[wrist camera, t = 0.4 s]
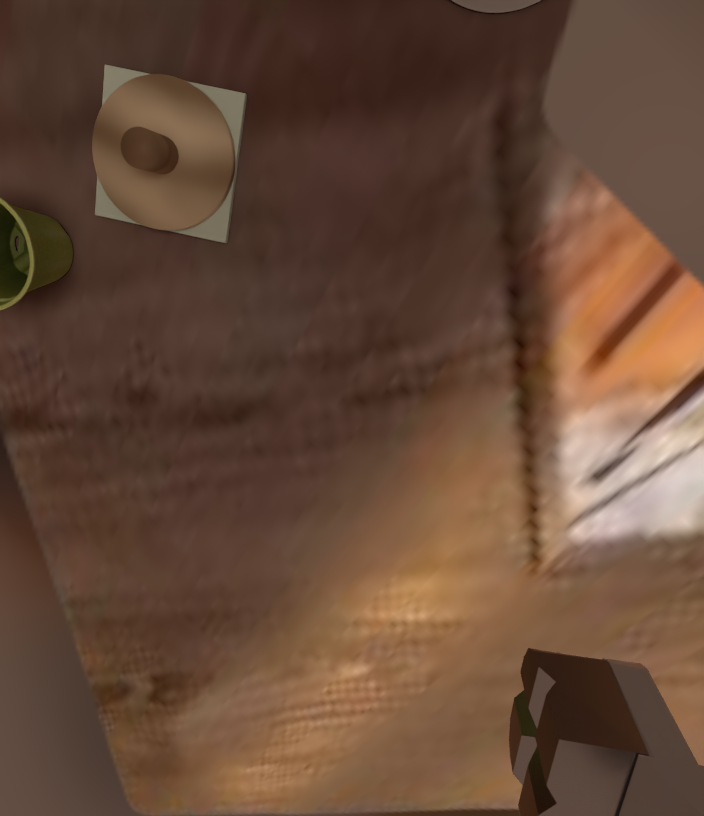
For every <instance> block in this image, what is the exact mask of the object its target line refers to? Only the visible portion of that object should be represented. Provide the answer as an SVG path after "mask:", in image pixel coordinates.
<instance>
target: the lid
mask: <svg viewBox="0 0 704 816" xmlns="http://www.w3.org/2000/svg"><path fill="white" fill-rule="evenodd" d="M92 153H93V161H94V165H95V170H96V173H97V176H98V179H99V181H100V183H101V185H102V187H103V189H104V191H105V193H106V194H107V196H108V197H109V199H110V200H111V201H112V202H113V204H114V205H115V206H116V207H117V208H118V209H119V210H120V211H121V212H122V213H123V214H125V215H126V216H127V217H129V218H130V219H132V220H133V221H135V222H137V223H139V224H141V225H144V226H146V227H149V228H153V229H159V230H183V229H188V228H191V227H194V226H196V225H199V224H201V223H202V222H204V221H206V220H207V219H209V218H210V217H211V216H212V215H213V214H214V213H215V212H216V211H217V210H218V209H219V208H220V207H221V205H222V204H223V202H224V201H225V199H226V198H227V195H228V193H229V191H230V189H231V186H232V183H233V179H234V174H235V165H236V155H235V146H234V141H233V137H232V134H231V130H230V128H229V126H228V123H227V121H226V119H225V117H224V116H223V114H222V112H221V111H220V110H219V108H218V107H217V105H216V104H215V103H214V102H213V101H212V100H211V99H210V98H209V97H208V96H207V95H206V94H204V93H203V92H202V91H201V90H199V89H198V88H196V87H195V86H193V85H191V84H190V83H188V82H186V81H184V80H182V79H180V78H177V77H173V76H170V75H163V74H148V75H143V76H139V77H136V78H133V79H131V80H129V81H127V82H125V83H123V84H122V85H121V86H119V87H118V88H117V89H116V90H115V91H114V92H113V93H112V94H111V95H110V96H109V97H108V99H107V100H106V101H105V103H104V104H103V106H102V108H101V110H100V111H99V114H98V117H97V119H96V122H95V126H94V130H93V139H92Z"/></svg>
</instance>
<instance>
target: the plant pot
mask: <svg viewBox="0 0 704 816" xmlns="http://www.w3.org/2000/svg"><path fill="white" fill-rule="evenodd" d="M17 236H18V237H19V243H18V251H17V250H16V247H15V238H16V237H17ZM72 260H73V247H72V243H71V240H70V237H69V236H68V235H67V233H66V232H65V231H64V229H63V228H62V227H61V225H60V224H59V222H57V221H56V220H55V219H53V218H51V217H49V216H47V215H43V214H40V213H36V212H33V211H29V210H25V209H22V208H19V207H16V206H13V205H10V204H9V203H7V202H6V201H5V200H4V199H2V198H1V197H0V310H3V309H6V308H8V307H11V306H12V305H14V304H16V303H17V302H18V301H20V300H21V299H22V298H23V297H24V295H25V294H26V293H27V292H29V291H32V290H34V289H37V288H39V287H42V286H44V285H47V284H49V283H52V282H54V281H57V280H59V279H60V278H61V277H63V276H64V275H65V274H66V273H67V272H68V270H69V269H70V267H71V264H72Z"/></svg>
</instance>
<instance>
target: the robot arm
mask: <svg viewBox="0 0 704 816" xmlns="http://www.w3.org/2000/svg"><path fill="white" fill-rule="evenodd" d="M451 1H453V2H455V3H457V4H458V5H461V6H463V7H465V8H468V9H471V10H475V11H480V12H487V13H502V12H510V11H515V10H519V9H522V8H525V7H528V6H530V5H533V4H535V3H537V2H539V1H541V0H451ZM521 677H522V681H523V686H524V691H522V692H521V693H520V694H519V695H517V696H516V697H515V698H514V702H513V707H512V712H511V717H510V731H509V747H510V759H511V765H512V771H513V774H514V775H515V776H516V778H517V779H518V780H519V781H520V782H521V784H522V785H523V787H522V791H521V796H520V800H519V804H518V806H519V811H520V816H704V766H701V765H698V763H697V761H696V759H695V757H694V756H693V754H692V752H691V750H690V748H689V746H688V744H687V742H686V741H685V739H684V737H683V735H682V733H681V731H680V729H679V727H678V726H677V724H676V722H675V720H674V718H673V716H672V714H671V713H670V711H669V709H668V707H667V705H666V703H665V701H664V699H663V698H662V696H661V694H660V692H659V690H658V688H657V686H656V684H655V683H654V681H653V679H652V677H651V675H650V673H649V671H648V669H647V668H646V667H644V666H643V665H642V664H641V663H635V662H627V661H620V660H612V659H604V658H603V659H602V660H601V659H595V658H589V657H582V656H576V655H570V654H563V653H557V652H550V651H544V650H538V649H531V648H528V650H527V652H526V654H525V656H524V659H523V663H522V667H521Z"/></svg>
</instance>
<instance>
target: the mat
mask: <svg viewBox="0 0 704 816" xmlns="http://www.w3.org/2000/svg"><path fill="white" fill-rule="evenodd" d="M143 75H148V73H143V72H138V71H133V70H128V69H124V68H119V67H114V66H109V65H105V70H104V85H103V100H102V106H103V104H104V103H105V101H106V100H107V99H108V97H109V96H110V95H111V94H112V93H113V92H114V91H115V90H116V89H117V88H118V87H119V86H121V85H122V84H123V83H125V82H127V81H129V80H131V79H133V78H136V77H139V76H143ZM186 82H187V81H186ZM188 83H190V84H191V85H193V86H195V87H196V88H198V89H199V90H201V91H202V92H203V93H204V94H206V95H207V96H208V97H209V98H210V99H211V100H212V101H213V102H214V103H215V104H216V105H217V107H218V108H219V110H220V111H221V112H222V114H223V116H224V117H225V119H226V121H227V123H228V126H229V128H230V130H231V134H232V137H233V141H234V146H235V155H236V165H235V174H234V179H233V183H232V186H231V189H230V191H229V193H228V195H227V198H226V199H225V201H224V202H223V204H222V205H221V207H220V208H219V209H218V210H217V211H216V212H215V213H214V214H213V215H212V216H211V217H210V218H209V219H207V220H206V221H204V222H202V223H201V224H199V225H196V226H194V227H191V228H188V229H183V230H167V231H171V232H176V233H181V234H185V235H190V236H194V237H199V238H204V239H208V240H213V241H217V242H222V243H228V237H229V229H230V222H231V214H232V207H233V199H234V192H235V184H236V177H237V169H238V162H239V154H240V147H241V139H242V132H243V124H244V117H245V109H246V102H247V94H245V93H241V92H236V91H231V90H226V89H221V88H216V87H211V86H207V85H202V84H197V83H192V82H188ZM95 215H98V216H102V217H107V218H112V219H116V220H121V221H125V222H130V223H135V224H139V223H137V222H135V221H133V220H132V219H130V218H129V217H127V216H126V215H125V214H123V213H122V212H121V211H120V210H119V209H118V208H117V207H116V206H115V205H114V204H113V202H112V201H111V200H110V199H109V197H108V196H107V194H106V193H105V191H104V189H103V187H102V185H101V183H100V181H99V179H98V176H97V190H96V206H95ZM139 225H141V224H139Z"/></svg>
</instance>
